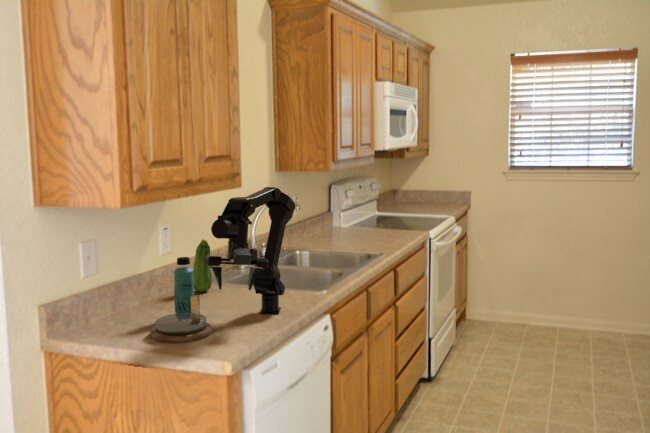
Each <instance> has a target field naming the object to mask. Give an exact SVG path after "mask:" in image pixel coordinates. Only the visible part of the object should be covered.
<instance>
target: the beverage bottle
mask: <svg viewBox="0 0 650 433" xmlns="http://www.w3.org/2000/svg"><path fill="white" fill-rule="evenodd" d="M176 261H177V262H176V265H178V266H179V267H176V269H175V270H174V271H173V279H174V280H173V282H174V293H173V294H174V300H173V301H174V314H180V313H191V296H194V295H195V292H196V291H195V289H194V278H193V271H194V269H193V268H192V267H190V266H189V265H190V264H191V262H190V257H189V256H180V257H177V258H176ZM187 265H188V266H187Z"/></svg>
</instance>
